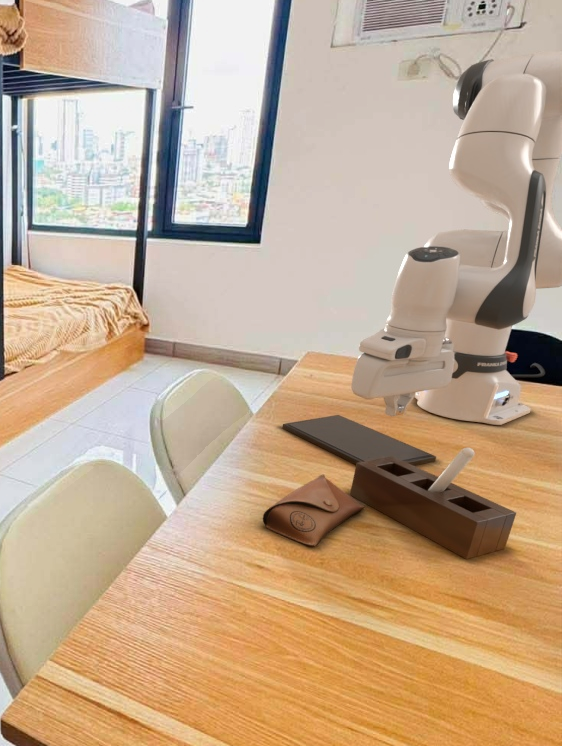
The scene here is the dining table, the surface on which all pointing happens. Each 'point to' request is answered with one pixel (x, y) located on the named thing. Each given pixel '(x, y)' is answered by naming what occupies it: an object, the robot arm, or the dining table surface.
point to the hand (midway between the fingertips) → (394, 414)
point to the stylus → (452, 470)
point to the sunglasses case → (311, 511)
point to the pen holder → (433, 507)
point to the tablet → (355, 440)
